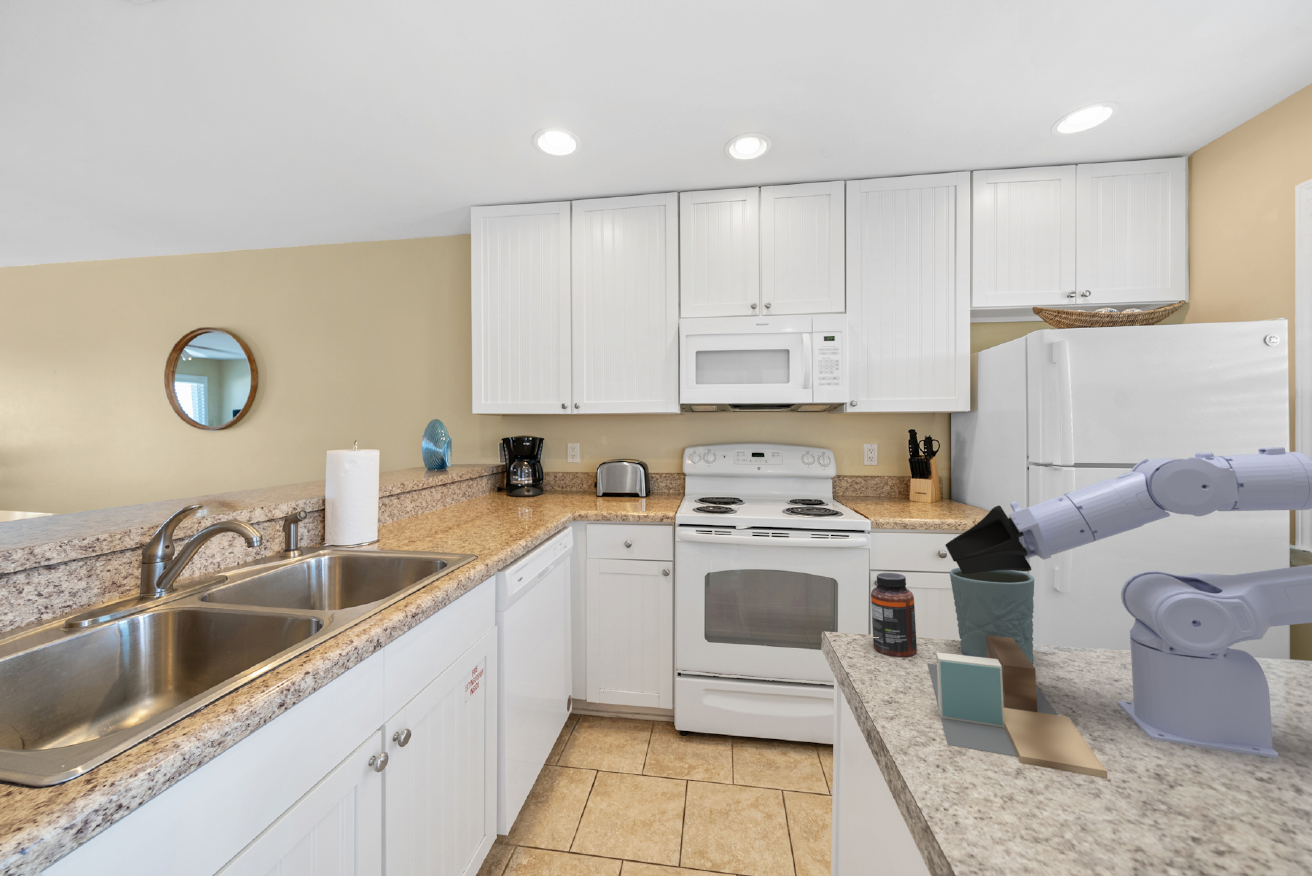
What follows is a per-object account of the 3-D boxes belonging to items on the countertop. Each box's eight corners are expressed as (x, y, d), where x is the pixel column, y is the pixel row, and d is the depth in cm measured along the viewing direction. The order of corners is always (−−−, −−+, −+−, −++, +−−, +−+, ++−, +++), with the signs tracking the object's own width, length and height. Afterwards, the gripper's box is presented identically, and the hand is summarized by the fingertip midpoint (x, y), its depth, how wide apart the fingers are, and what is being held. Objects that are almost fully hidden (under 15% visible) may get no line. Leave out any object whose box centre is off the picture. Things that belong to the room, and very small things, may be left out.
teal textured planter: (1054, 674, 67) (1050, 583, 68) (971, 671, 69) (967, 582, 69) (1014, 645, 77) (1010, 565, 78) (942, 643, 79) (939, 565, 79)
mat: (1031, 678, 67) (1031, 675, 67) (1095, 773, 47) (1095, 769, 47) (927, 665, 71) (927, 663, 71) (947, 747, 52) (947, 744, 52)
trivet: (1068, 725, 55) (1067, 716, 55) (1107, 781, 46) (1106, 770, 46) (997, 714, 58) (997, 706, 58) (1020, 765, 49) (1020, 755, 49)
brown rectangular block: (1014, 676, 66) (1012, 637, 67) (1037, 713, 57) (1035, 668, 57) (987, 673, 68) (985, 635, 68) (1005, 709, 58) (1003, 665, 58)
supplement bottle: (907, 644, 79) (904, 570, 79) (924, 659, 73) (920, 580, 74) (867, 643, 80) (864, 570, 80) (880, 659, 74) (877, 580, 74)
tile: (1000, 718, 56) (997, 659, 57) (1004, 728, 54) (1002, 666, 55) (938, 709, 59) (936, 652, 59) (941, 718, 57) (938, 659, 57)
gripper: (1056, 505, 66) (947, 543, 71) (1056, 466, 55) (928, 515, 60) (1092, 556, 62) (974, 593, 67) (1099, 525, 51) (958, 572, 56)
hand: (954, 559), depth 63 cm, fingers open, 7 cm apart
